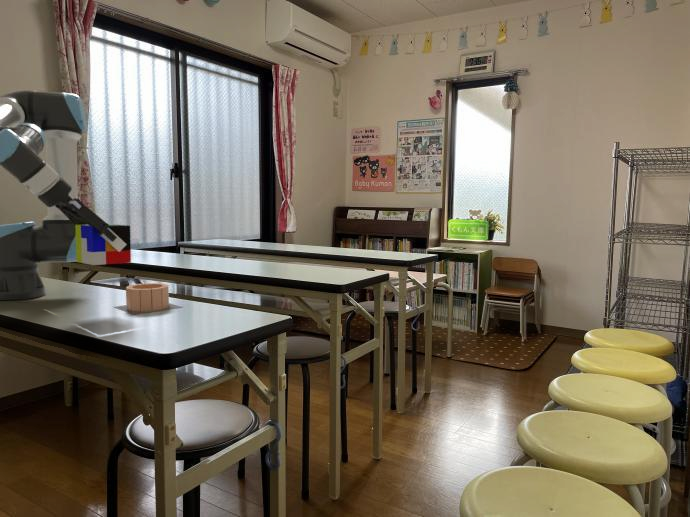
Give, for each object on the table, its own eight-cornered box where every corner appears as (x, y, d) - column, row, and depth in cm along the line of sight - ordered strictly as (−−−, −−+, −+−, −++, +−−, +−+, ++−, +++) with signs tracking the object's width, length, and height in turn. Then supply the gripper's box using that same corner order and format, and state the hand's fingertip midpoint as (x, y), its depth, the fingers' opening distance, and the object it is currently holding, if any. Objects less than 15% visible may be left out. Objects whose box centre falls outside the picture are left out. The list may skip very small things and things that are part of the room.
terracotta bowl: (120, 307, 143) (119, 286, 142) (157, 301, 151) (157, 281, 150) (137, 313, 135) (136, 291, 135) (175, 307, 143) (175, 286, 143)
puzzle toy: (93, 265, 129) (92, 226, 128) (76, 261, 136) (75, 224, 135) (130, 262, 137) (130, 225, 136) (113, 259, 143) (112, 224, 142)
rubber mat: (113, 308, 143) (113, 306, 143) (160, 302, 153) (160, 300, 153) (134, 316, 133) (134, 315, 133) (183, 309, 143) (183, 307, 143)
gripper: (24, 196, 132) (90, 253, 145) (49, 196, 116) (121, 260, 128) (46, 177, 135) (109, 234, 148) (74, 174, 119) (141, 239, 131)
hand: (114, 246), depth 138 cm, fingers closed on puzzle toy, 10 cm apart
